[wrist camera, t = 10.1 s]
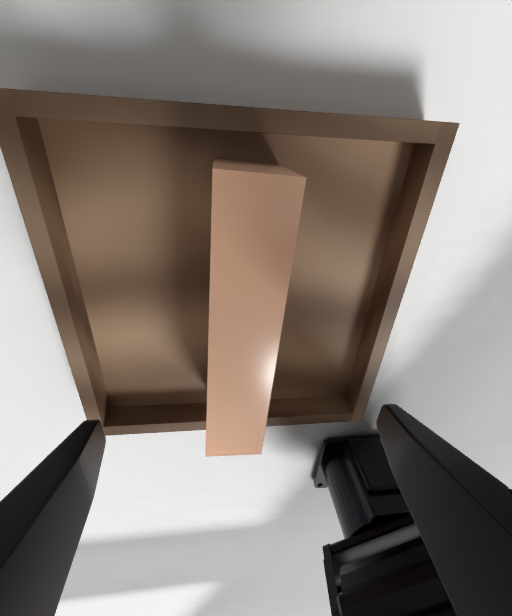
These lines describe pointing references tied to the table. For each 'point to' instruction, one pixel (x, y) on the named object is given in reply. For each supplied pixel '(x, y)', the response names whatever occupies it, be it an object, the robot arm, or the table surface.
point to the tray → (197, 245)
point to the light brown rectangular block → (247, 296)
